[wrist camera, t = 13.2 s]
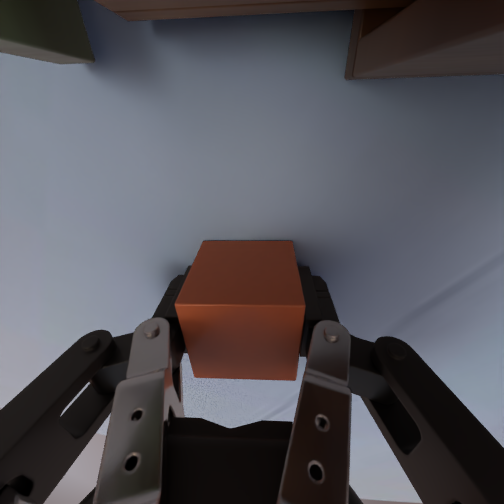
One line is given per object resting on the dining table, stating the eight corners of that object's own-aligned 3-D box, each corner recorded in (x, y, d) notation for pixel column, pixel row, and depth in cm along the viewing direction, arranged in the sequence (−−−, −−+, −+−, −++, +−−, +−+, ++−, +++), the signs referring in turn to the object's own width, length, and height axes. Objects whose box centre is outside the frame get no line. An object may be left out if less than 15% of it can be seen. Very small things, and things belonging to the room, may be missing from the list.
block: (212, 305, 14) (193, 378, 10) (202, 240, 12) (173, 304, 8) (287, 306, 14) (296, 381, 10) (292, 240, 11) (306, 306, 8)
